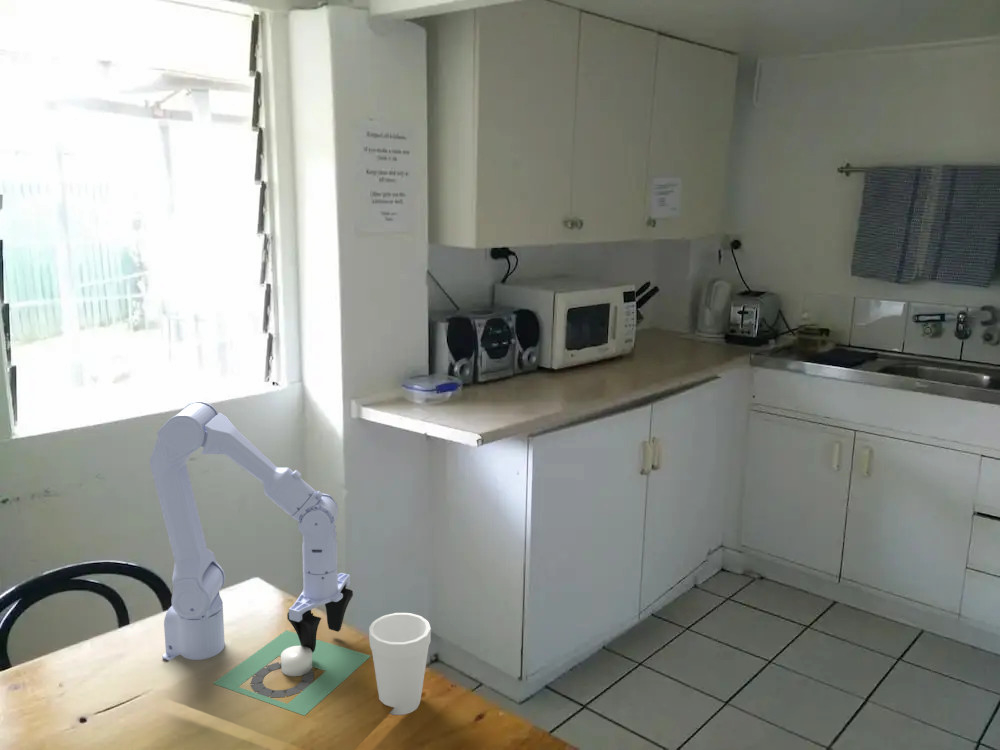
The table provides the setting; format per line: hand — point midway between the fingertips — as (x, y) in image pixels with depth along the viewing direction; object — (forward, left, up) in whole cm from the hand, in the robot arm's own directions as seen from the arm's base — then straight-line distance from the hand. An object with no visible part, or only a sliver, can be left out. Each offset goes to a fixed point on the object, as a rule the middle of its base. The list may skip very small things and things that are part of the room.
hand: (321, 639), depth 138 cm
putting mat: (0, -7, -3) cm, 8 cm away
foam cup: (+19, -5, -3) cm, 20 cm away
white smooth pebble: (0, -7, -1) cm, 7 cm away
